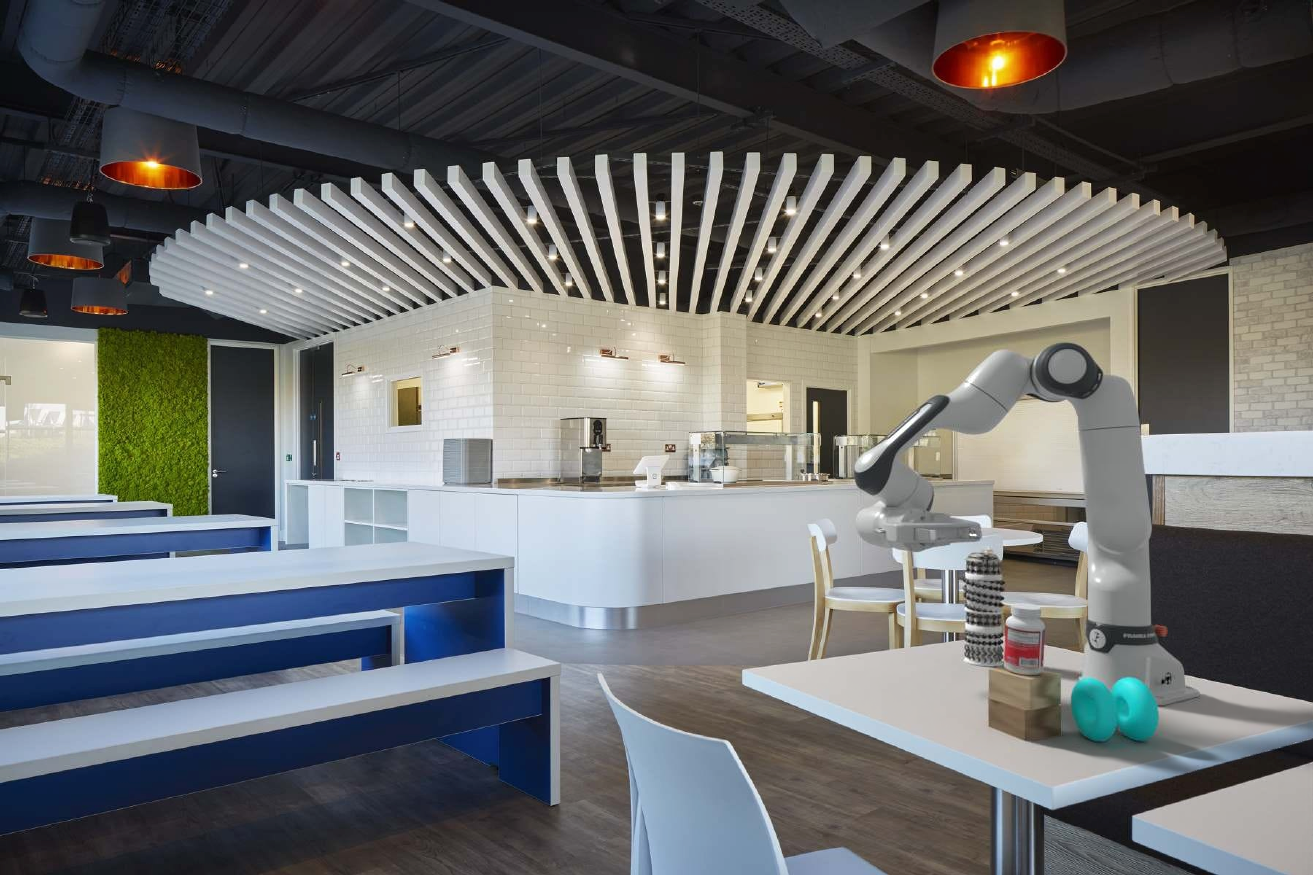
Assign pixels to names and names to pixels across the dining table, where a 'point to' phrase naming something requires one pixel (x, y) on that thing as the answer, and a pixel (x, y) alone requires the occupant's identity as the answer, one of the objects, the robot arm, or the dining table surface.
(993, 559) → the decorative candle
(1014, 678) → the tower top
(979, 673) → the dining table surface
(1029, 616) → the pill bottle
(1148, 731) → the turquoise spool
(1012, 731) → the tower base
